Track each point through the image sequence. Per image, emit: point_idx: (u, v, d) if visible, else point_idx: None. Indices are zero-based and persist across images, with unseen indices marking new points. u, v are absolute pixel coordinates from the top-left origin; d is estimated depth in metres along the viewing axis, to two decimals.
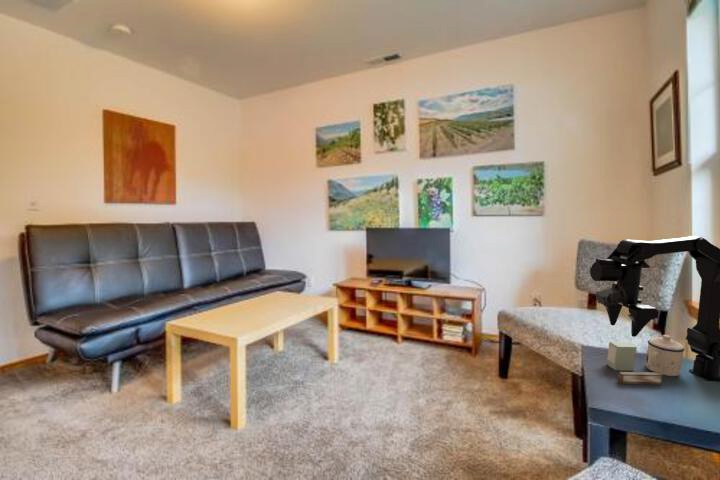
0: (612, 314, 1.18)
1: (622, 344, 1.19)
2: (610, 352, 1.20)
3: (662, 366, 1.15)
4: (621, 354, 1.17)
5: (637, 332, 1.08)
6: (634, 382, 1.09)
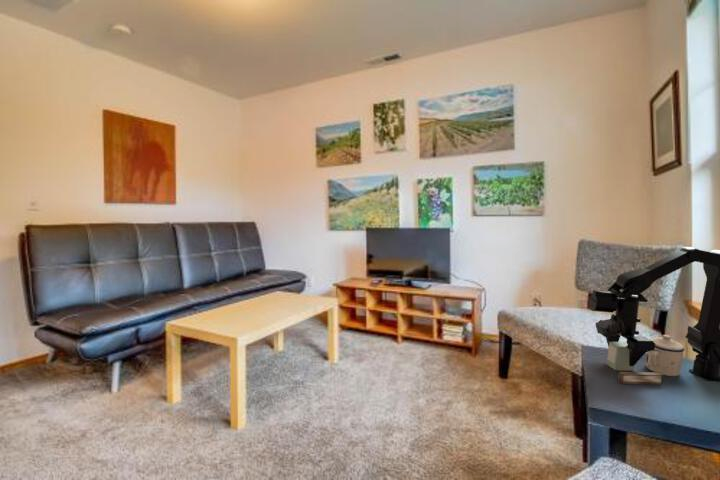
0: None
1: (622, 344, 1.19)
2: (610, 352, 1.20)
3: (662, 366, 1.15)
4: (621, 354, 1.17)
5: (634, 362, 1.14)
6: (634, 382, 1.09)
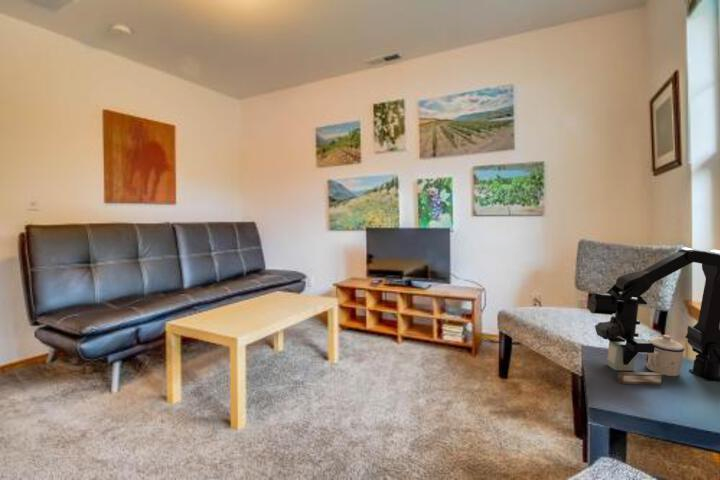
0: None
1: (622, 344, 1.19)
2: (609, 352, 1.20)
3: (662, 366, 1.15)
4: (621, 354, 1.17)
5: (628, 361, 1.17)
6: (634, 382, 1.09)
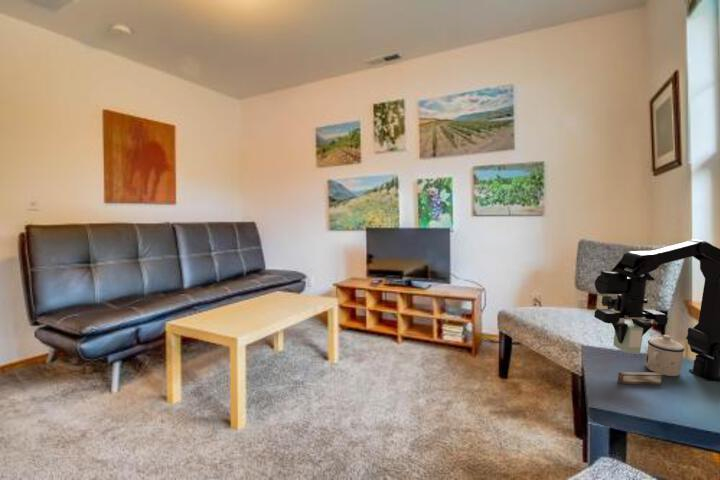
0: None
1: (628, 324, 1.12)
2: None
3: (662, 366, 1.15)
4: None
5: (619, 338, 1.12)
6: (634, 382, 1.09)
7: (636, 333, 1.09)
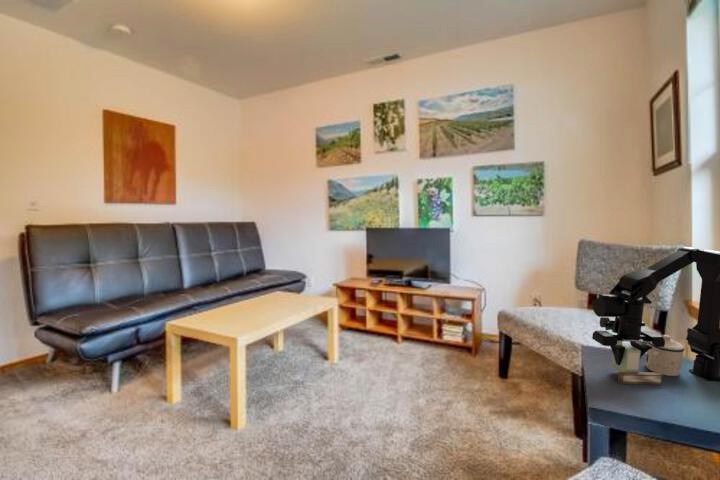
0: None
1: (626, 346, 1.13)
2: None
3: (662, 366, 1.15)
4: None
5: (617, 360, 1.13)
6: (634, 382, 1.09)
7: (634, 356, 1.10)
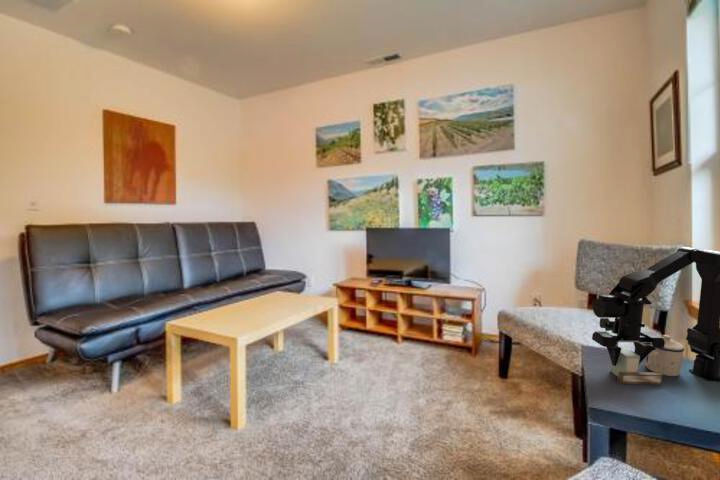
0: None
1: (625, 351, 1.13)
2: None
3: (662, 366, 1.15)
4: None
5: (613, 361, 1.13)
6: (634, 382, 1.09)
7: (633, 361, 1.10)
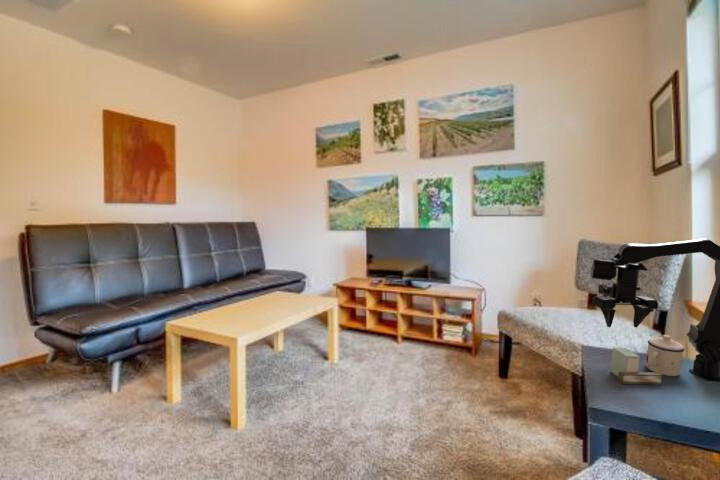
0: (636, 316, 1.23)
1: (625, 351, 1.13)
2: None
3: (662, 366, 1.15)
4: (615, 357, 1.15)
5: (608, 323, 1.22)
6: (634, 382, 1.09)
7: (633, 361, 1.10)
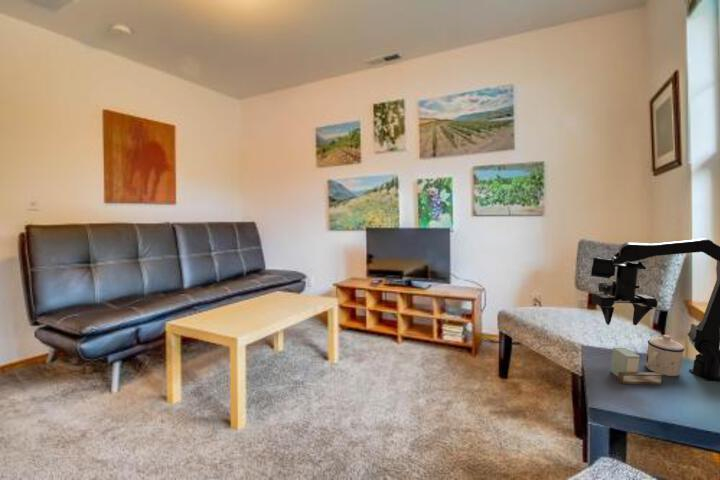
0: (635, 315, 1.25)
1: (625, 351, 1.13)
2: None
3: (662, 366, 1.15)
4: (615, 357, 1.15)
5: (607, 320, 1.25)
6: (634, 382, 1.09)
7: (633, 361, 1.10)
